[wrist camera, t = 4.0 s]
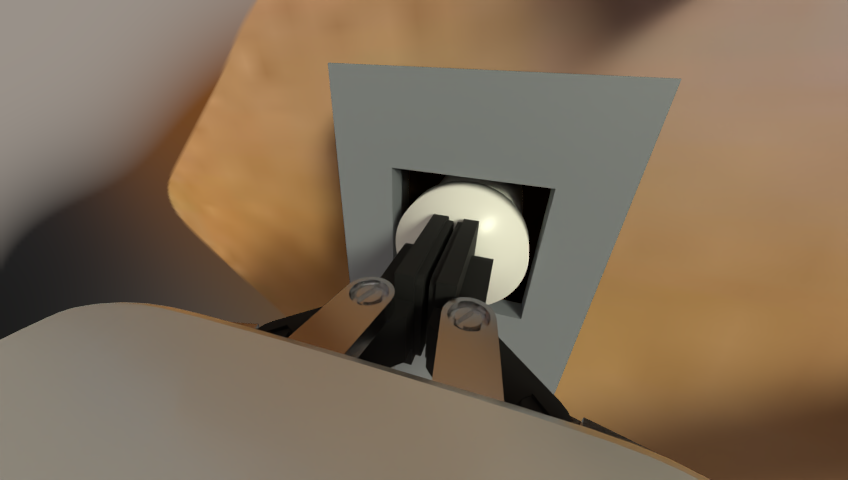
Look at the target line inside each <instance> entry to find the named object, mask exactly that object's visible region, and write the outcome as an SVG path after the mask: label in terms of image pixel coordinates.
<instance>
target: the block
mask: <svg viewBox="0 0 848 480" xmlns="http://www.w3.org/2000/svg"><path fill="white" fill-rule="evenodd" d="M328 69H329V79H330V89H331V99H332V109H333V119H334V129H335V139H336V149H337V159H338V169H339V178H340V188H341V198H342V208H343V218H344V228H345V238H346V248H347V258H348V268H349V278H350V283H351V282H353V281H355V280H357V279H360V278H364V277H379V278H380V277H381V276H382V275H383V273H384V272H385V270H386V269H387V268H388V266H389V265H390V263H391V262H392V261H393V259H394V258H395V257H396V255H397V251H396V232H397V228H398V225H399V222H400V220H401V218H402V216H403V215H404V213H405V212H406V211H407V209H408V208H409V171H410V170H414V171H422V172H430V173H437V174H445V175H453V176H460V177H468V178H476V179H484V180H491V181H499V182H507V183H514V184H522V185H530V186H537V187H545V188H551V192H550V196H549V200H548V203H547V207H546V211H545V215H544V219H543V223H542V227H541V231H540V235H539V238H538V242H537V246H536V250H535V254H534V258H533V262H532V266H531V269H530V273H529V277H528V281H527V285H526V289H525V293H524V297H523V300H522V304H521V303H516V302H512V301H507V300H502V299H501V300H499V301H497V302H495V303H492V304H489V306H490V307H491V308H492V310H493V311H494V312H495V315H496V318H497V327H498V337H499V338H500V339H501V340H502V341H503V342H504V343H505V344H506V345H507V346H508V347H509V348H510V349H511V350H512V352H513V353H514V354H515V355H516V356H517V357H518V358H519V359H520V360H521V361H522V362H523V363H524V364H525V365H526V366H527V367H528V368H529V369H530V370H531V371H532V373H533V374H534V375H535V376H536V377H537V378H538V379H539V380H540V381H541V382H542V383H543V384H544V385H545V386H546V387H547V388H548V389H549V390H550V391H551V392H552V394H553V395H554V393H555V391H556V388H557V386H558V383H559V381H560V378H561V376H562V374H563V371H564V369H565V366H566V364H567V361H568V359H569V356H570V354H571V351H572V349H573V346H574V344H575V341H576V339H577V336H578V334H579V331H580V329H581V326H582V324H583V322H584V319H585V317H586V314H587V312H588V309H589V307H590V304H591V302H592V299H593V297H594V294H595V292H596V289H597V287H598V284H599V282H600V279H601V277H602V274H603V272H604V269H605V267H606V265H607V262H608V260H609V257H610V255H611V252H612V250H613V247H614V245H615V242H616V240H617V237H618V235H619V232H620V230H621V227H622V225H623V222H624V220H625V217H626V215H627V213H628V210H629V208H630V205H631V203H632V200H633V198H634V195H635V193H636V190H637V188H638V185H639V183H640V180H641V178H642V175H643V173H644V170H645V168H646V165H647V163H648V160H649V158H650V156H651V153H652V151H653V148H654V146H655V143H656V141H657V138H658V136H659V133H660V131H661V128H662V126H663V123H664V121H665V118H666V116H667V113H668V111H669V108H670V106H671V104H672V101H673V99H674V96H675V94H676V91H677V89H678V86H679V84H680V81H681V79H675V78H653V77H631V76H609V75H587V74H565V73H543V72H521V71H499V70H477V69H454V68H432V67H410V66H388V65H366V64H344V63H328ZM425 348H426V344H425V347H424V350H423V352H422V355H421V356H417V355H415V357H414V360H413V362H412V365H409V364H406V363H401V364H398V365H396V366H395V369H396V370H399V371H403V372H406V373H409V374H413V375H416V376H420V377H423V378H426V379H430V380H432V377H431V375H430V374H429V372H428V370H427V369H426V358H425Z"/></svg>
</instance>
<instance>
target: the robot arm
mask: <svg viewBox="0 0 848 480" xmlns="http://www.w3.org/2000/svg"><path fill="white" fill-rule="evenodd" d="M453 227H454V221H451V220H449V216H444V215H438V214H433V216H432V217H431V219H430V220H429V222H428V223H427V225H426V226H425V228H424V229H423V231H422V232H421V234H420V235H419V237H418V238H417V240H416V241H415V243H414V244H410V243H405V244H404V245H403V247H402V248H401V250H400V251H399V252H398V254H397V255H396V257H395V258H394V259H393V261H392V262H391V263H390V265H389V266H388V268H387V269H386V270H385V272H384V273H383V275H382V276H381V277H380V278H379V277H364V278H360V279H357V280H355V281H353V282H351V283H350V284H348V285H347V286H346V287H345V288H344V289H343V290H342V291H340V292H339V293H338V294H337V295H336V296H335V297H334V298H332V299H331V300H330V301H329V302H328V303H327V304H326V305H324V306H323V307H320V308H317V309H313V310H310V311H306V312H303V313H299V314H296V315H292V316H289V317H286V318H282V319H279V320H275V321H272V322H270V323H267V324H265V325H263V326H261V327H260V328H259V325H258V324H252V323H238V322H237V323H236V322H229V321H225V320H221V319H218V318H214V317H210V316H206V315H203V314H199V313H194V312H190V311H186V310H182V309H177V308H173V307H168V306H161V305H154V304H147V303H126V302H121V303H103V304H94V305H87V306H82V307H76V308H72V309H68V310H65V311H62V312H59V313H57V314H55V315H52V316H50V317H48V318H45V319H43V320H41V321H39V322H37V323H35V324H32V325H30V326H28V327H26V328H24V329H22V330H20V331H18V332H16V333H13V334H11V335H9V336H7V337H5V338H3V339H1V340H0V480H710V479H709V478H707V477H705V476H703V475H701V474H699V473H697V472H695V471H693V470H691V469H689V468H687V467H685V466H683V465H681V464H679V463H677V462H675V461H673V460H671V459H669V458H667V457H664V456H662V455H660V454H658V453H656V452H654V451H652V450H649V449H647V448H645V447H643V446H641V445H639V444H637V443H635V442H633V441H631V440H629V439H627V438H625V437H623V436H621V435H619V434H617V433H615V432H613V431H611V430H609V429H607V428H605V427H602V426H600V425H598V424H596V423H594V422H592V421H590V420H588V419H586V418H583V420H582V422H581V421H579V420H577V419H575V418H573V417H571V416H570V415H569V413H568V411H567V410H566V409H565V407H564V406H563V405H562V403H561V402H560V401H559V400H558V399H557V398H556V397H555V396H554V395H553V394H552V392H551V391H550V390H549V389H548V388H547V387H546V386H545V385H544V384H543V383H542V382H541V381H540V380H539V379H538V378H537V377H536V376H535V375H534V374H533V373H532V371H531V370H530V369H529V368H528V367H527V366H526V365H525V364H524V363H523V362H522V361H521V360H520V359H519V358H518V357H517V356H516V355H515V354H514V353H513V352H512V350H511V349H510V348H509V347H508V346H507V345H506V344H505V343H504V342H503V341H502V340H501V339H500V338H499V337H498V327H497V318H496V315H495V312H494V311H493V310H492V308H491V307H490V306H489V305H487V304H486V299H487V293H488V288H489V282H490V277H491V271H492V266H493V260H494V259H490V258H485V257H480V256H474V255H475V249H476V242H477V235H478V228H479V221H476V220H469V219H464V220H463V222H457V224H456V226H455V228H454V230H453ZM425 344H426V348H425V358H426V369H427V370H428V372H429V374H430V375H431V377H432V380H430V379H426V378H423V377H420V376H416V375H413V374H409V373H406V372H403V371H399V370H396V369H395V366H396V365H398V364H401V363H406V364H409V365H412V362H413V360H414V357H415V355H417V356H421V355H422V352H423V350H424V347H425Z"/></svg>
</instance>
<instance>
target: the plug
mask: <svg viewBox="0 0 848 480" xmlns="http://www.w3.org/2000/svg"><path fill="white" fill-rule="evenodd" d="M522 212H523V189H522V185H521V184H514V183H507V182H499V181H491V180H484V179H476V178H468V177H460V176H453V175H446V176H445V177H444V178H443V180H442V181H441V182H440V183H439V184H438V185H436V186H434V187H432V188H430V189H428V190H427V191H425V192H424V193H422V194H421V195H420V196H419V197H418V198H417V199H416V200H415V201H414V203H413V204H412V205H411V206H410V207H409V208H408V209H407V211H406V212H405V213H404V215H403V216H402V218H401V220H400V222H399V225H398V228H397V232H396V251H397V254H398V252H399V251H400V250H401V248H402V247H403V245H404V244H405V243H410V244H414V243H415V241H416V240H417V238H418V237H419V235H420V234H421V232H422V231H423V229H424V228H425V226H426V225H427V223H428V222H429V220H430V219H431V217H432V216H433V214H438V215H444V216H449V220H451V221H454V227H453V230H454V228H455V226H456V224H457V222H463V220H464V219H469V220H476V221H479V228H478V235H477V242H476V249H475V255H474V256H480V257H485V258H490V259H494V260H493V266H492V271H491V277H490V282H489V288H488V293H487V299H486V304H487V305H489V304H492V303H495V302H497V301H499V300H501V299H503V298H505V297H506V296H508V295H509V294H510V293H512V292H513V291H514V290H515V289H516V288H517V287H518V285H519V284H520V283H521V281H522V279H523V277H524V276H525V273H526V270H527V267H528V262H529V234H528V229H527V226H526V223H525V220H524V218H523V216H522Z"/></svg>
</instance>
